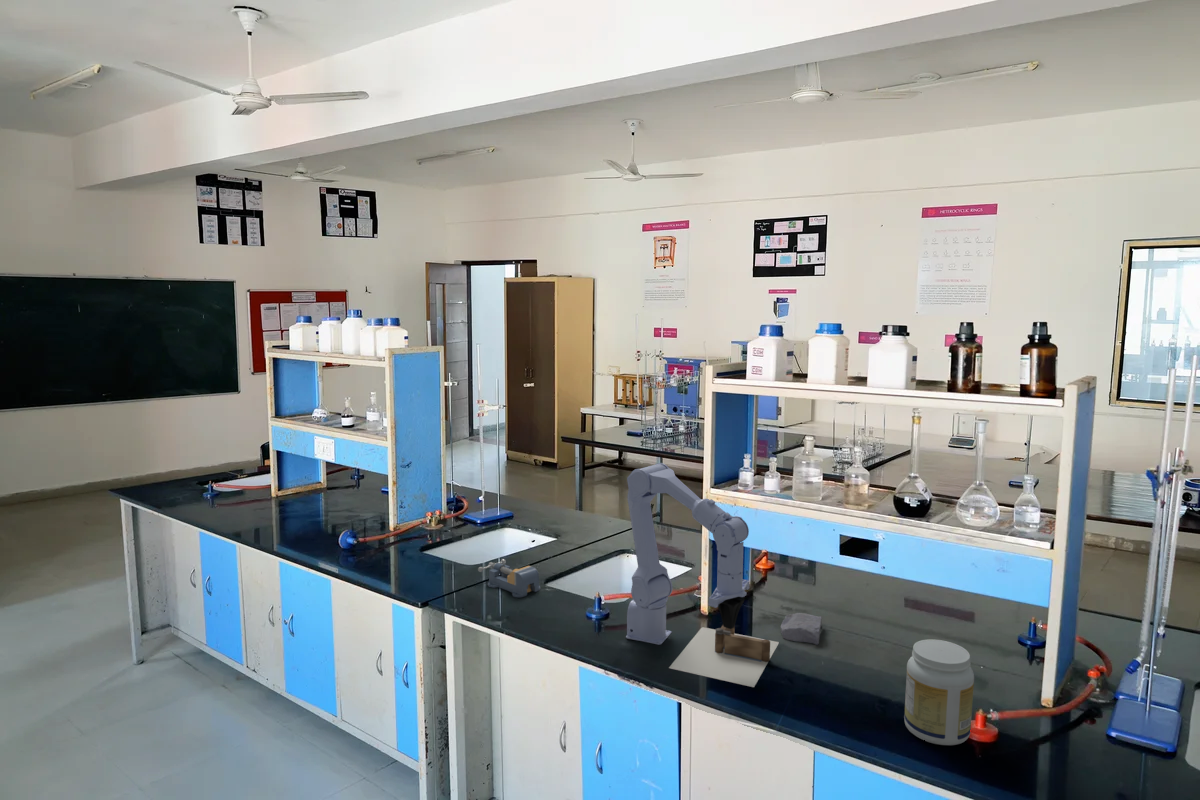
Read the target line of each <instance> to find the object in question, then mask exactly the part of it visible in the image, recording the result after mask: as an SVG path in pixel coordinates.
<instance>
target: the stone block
mask: <svg viewBox="0 0 1200 800" xmlns="http://www.w3.org/2000/svg"><path fill="white" fill-rule="evenodd" d="M784 617H785V618H784V619H782V622H781V625H780V634H781V635H782V638H783V639H784V640H788V641H792V642H793V641H794V642H804V643H809V644H814V646H817V645H819V643H820V636H821V630H822V619H823V618H822V616H817V615H814V614H808V613H803V612H796V613H791V614H790V613H789V614H787V615H785V616H784Z"/></svg>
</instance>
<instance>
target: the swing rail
mask: <svg viewBox="0 0 1200 800" xmlns="http://www.w3.org/2000/svg"><path fill="white" fill-rule="evenodd" d="M715 630H716V634H719V635H721V634H725V653H728V654H733V655H738V656H743V657H748V658H754V659H759V660H762V661H765V662H767V661H769V662H770V660H771V658H770V641H771V640H770V639H765V640H761V639H762V638H760V639H756V638H757V637H755V638H750V637H751V636H750V637H745V636H746V635H745V636H739V635H734V634H731V631H726V630H723V629H722V628H721V627H718V628H715ZM769 640H770V641H769Z"/></svg>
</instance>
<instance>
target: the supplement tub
mask: <svg viewBox="0 0 1200 800" xmlns="http://www.w3.org/2000/svg"><path fill="white" fill-rule="evenodd" d="M971 663H972V662H971V654H970V653H969V651H968V650H967V649H966V648H964V647H963V646H961V645H959V644H956V643H954V642H951V641H946V640H943V639H942V640H941V639H934V638H933V639H921V640H919V641H916V642H914V644H913V647H912V651H911V656H910V658H909V659H908V661H907V663H906V677H905V679H906V681H905V695H904V696H905V697H904V698H905V701H904V715H903V718H904V724H905V727H906V729H907V730H908V731H909V732H910V733H911V734H912V735H914V736H915V737H917V738H919V739H921V740H923V741H924V740H925V742H927V743H931V744H934V745H938V746H939V745H940V746H956V745H960V744H962V743H965V741H967V740H968V739H969V737H970V735H971V732H970V730H971V731H972V713H973V700H974V699H973V698H974V685H975V674H974V671H973V668H972V667H971V666H972V664H971Z"/></svg>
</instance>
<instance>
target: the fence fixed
mask: <svg viewBox="0 0 1200 800" xmlns="http://www.w3.org/2000/svg"><path fill="white" fill-rule="evenodd" d="M735 627H736V625H735V626H734V628H732V629H729V628H726V627H724V626H723V624H722V625H721V627H720V628H722V629H723V630H726V631H731V634H734V633H735V629H736V628H735ZM735 634H736V633H735ZM724 647H725V634H721V635H719V634H716V633H715V652H716V653H723V648H724Z"/></svg>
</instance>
